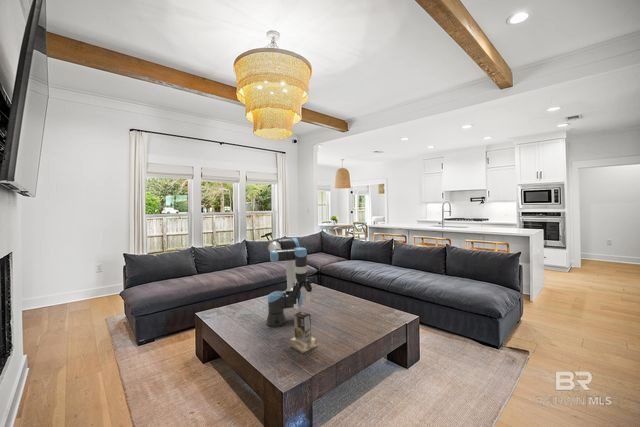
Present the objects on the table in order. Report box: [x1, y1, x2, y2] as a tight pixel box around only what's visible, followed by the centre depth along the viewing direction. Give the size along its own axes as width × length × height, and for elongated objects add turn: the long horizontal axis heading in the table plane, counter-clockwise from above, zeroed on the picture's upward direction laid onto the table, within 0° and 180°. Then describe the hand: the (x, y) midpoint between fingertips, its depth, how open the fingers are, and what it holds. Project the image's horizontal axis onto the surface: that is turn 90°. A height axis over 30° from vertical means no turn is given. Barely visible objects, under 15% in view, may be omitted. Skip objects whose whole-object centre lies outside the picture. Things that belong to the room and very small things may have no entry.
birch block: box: [289, 335, 318, 354], centre depth 182 cm, size 12×12×5 cm
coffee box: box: [293, 311, 312, 342], centre depth 182 cm, size 9×6×16 cm
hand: (302, 305), depth 181 cm, fingers open, 13 cm apart
